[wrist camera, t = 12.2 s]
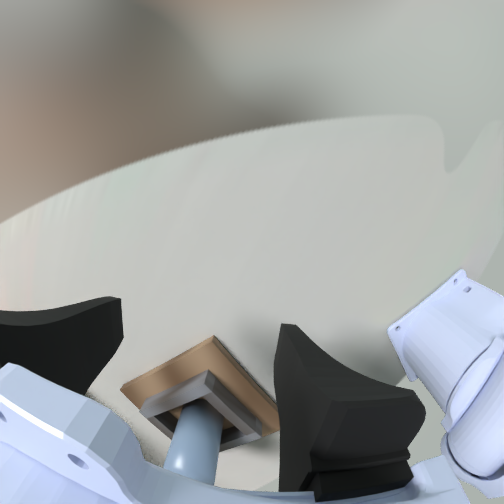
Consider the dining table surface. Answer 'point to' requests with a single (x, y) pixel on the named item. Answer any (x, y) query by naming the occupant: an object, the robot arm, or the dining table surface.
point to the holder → (205, 394)
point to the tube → (196, 442)
